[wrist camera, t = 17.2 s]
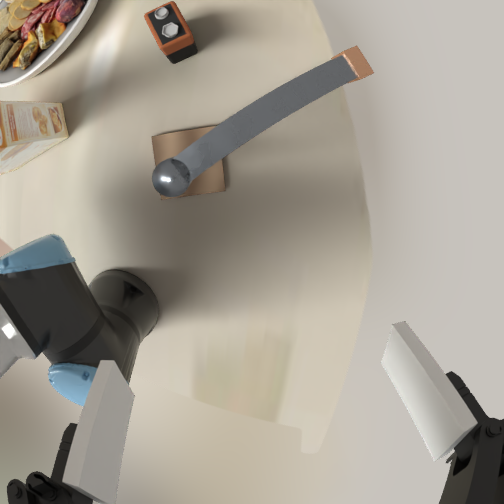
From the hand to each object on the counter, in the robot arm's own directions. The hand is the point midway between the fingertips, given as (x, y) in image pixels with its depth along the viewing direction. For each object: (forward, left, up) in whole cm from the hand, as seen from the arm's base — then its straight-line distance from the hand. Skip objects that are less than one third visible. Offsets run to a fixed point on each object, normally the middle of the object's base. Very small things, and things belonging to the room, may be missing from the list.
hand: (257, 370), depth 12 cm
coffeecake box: (-34, +17, -35) cm, 52 cm away
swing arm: (+4, +11, -23) cm, 26 cm away
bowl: (-33, +43, -35) cm, 65 cm away
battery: (-6, +26, -35) cm, 44 cm away
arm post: (-6, +6, -35) cm, 36 cm away
